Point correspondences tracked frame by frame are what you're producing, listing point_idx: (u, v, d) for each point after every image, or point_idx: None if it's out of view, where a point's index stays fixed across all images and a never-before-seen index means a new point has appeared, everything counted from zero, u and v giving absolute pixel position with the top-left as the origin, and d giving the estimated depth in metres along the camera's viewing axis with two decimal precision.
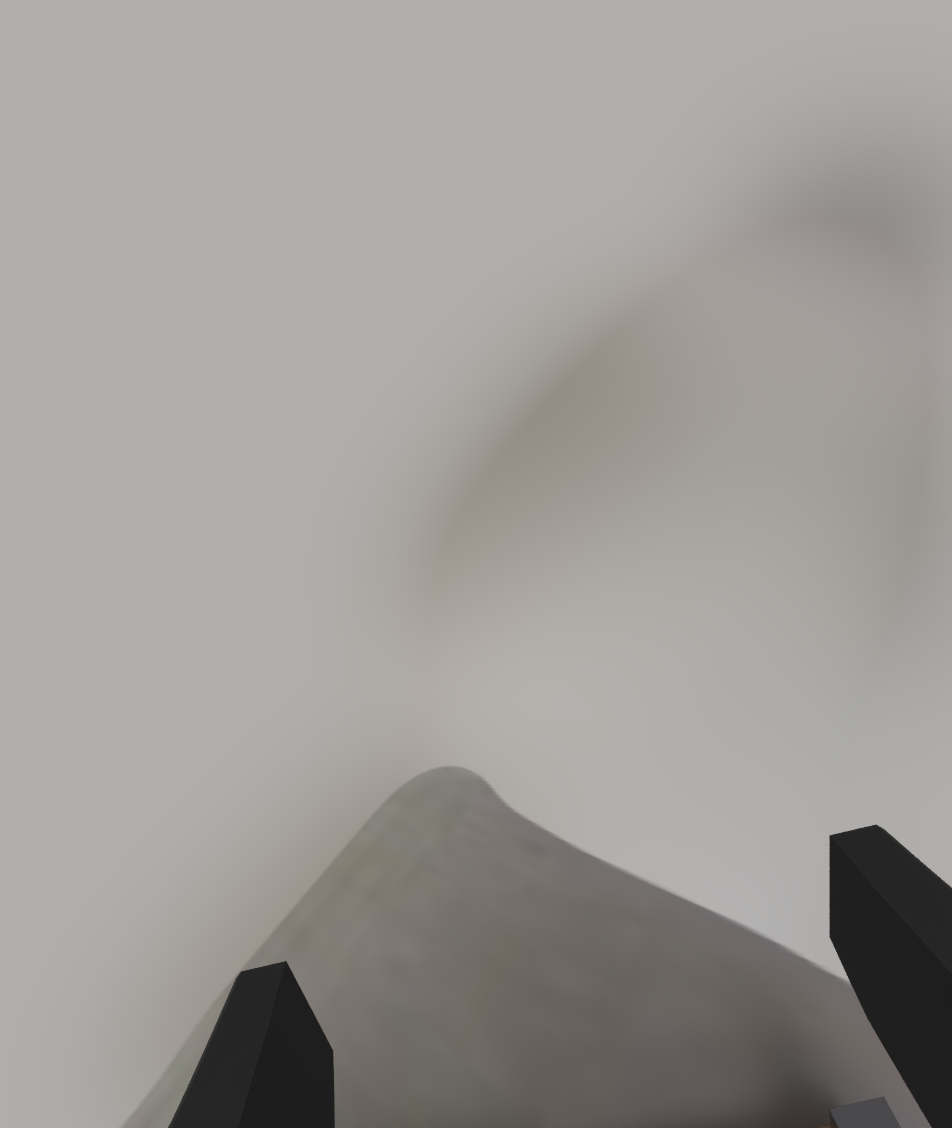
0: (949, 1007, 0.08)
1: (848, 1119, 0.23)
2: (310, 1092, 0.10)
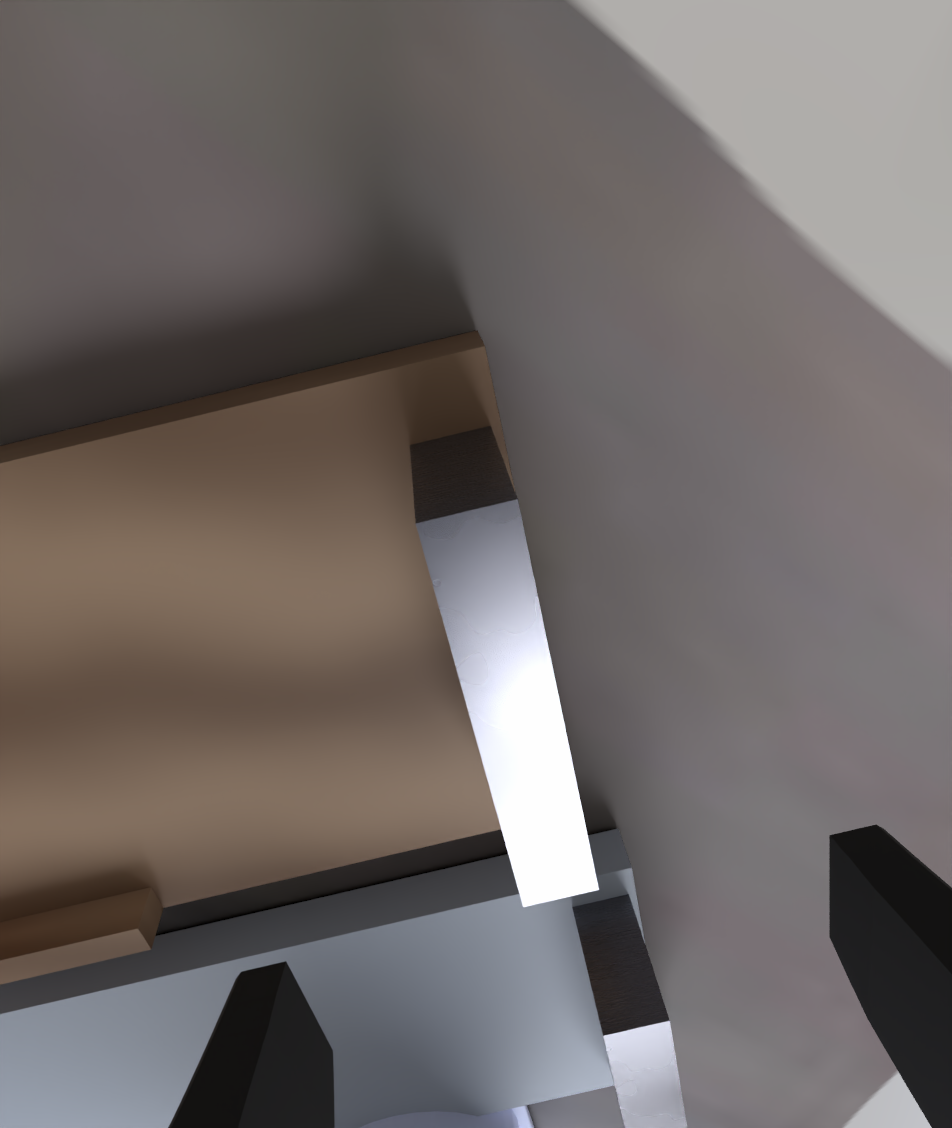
0: (949, 1007, 0.08)
1: (444, 539, 0.12)
2: (310, 1092, 0.10)
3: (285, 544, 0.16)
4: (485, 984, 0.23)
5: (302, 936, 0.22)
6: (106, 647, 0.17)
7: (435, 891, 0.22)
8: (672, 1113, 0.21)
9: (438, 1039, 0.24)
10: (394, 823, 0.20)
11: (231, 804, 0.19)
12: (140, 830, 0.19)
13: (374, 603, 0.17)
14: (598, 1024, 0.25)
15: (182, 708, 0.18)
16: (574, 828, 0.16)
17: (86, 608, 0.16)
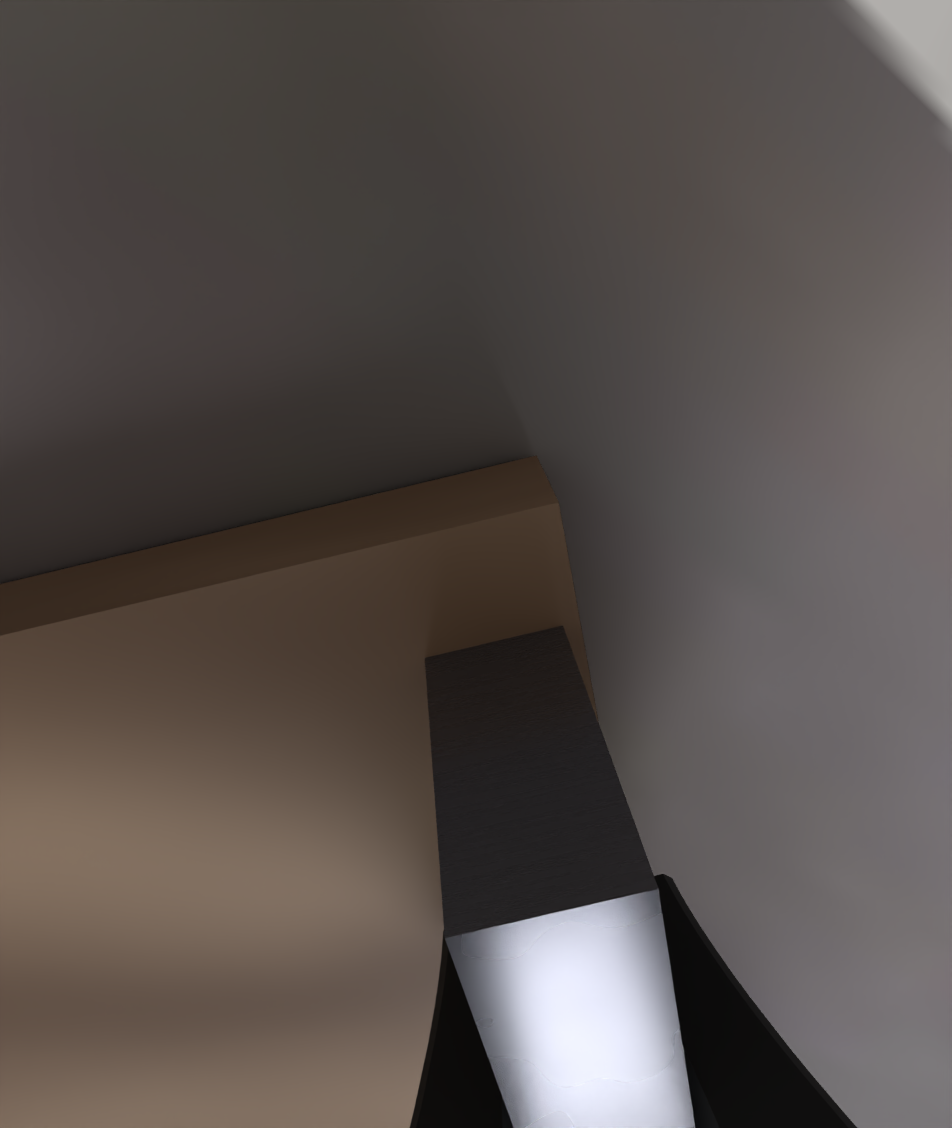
0: None
1: (503, 958, 0.06)
2: None
3: (218, 806, 0.10)
4: None
5: None
6: None
7: None
8: None
9: None
10: None
11: None
12: None
13: (365, 880, 0.11)
14: None
15: (67, 1025, 0.11)
16: None
17: None
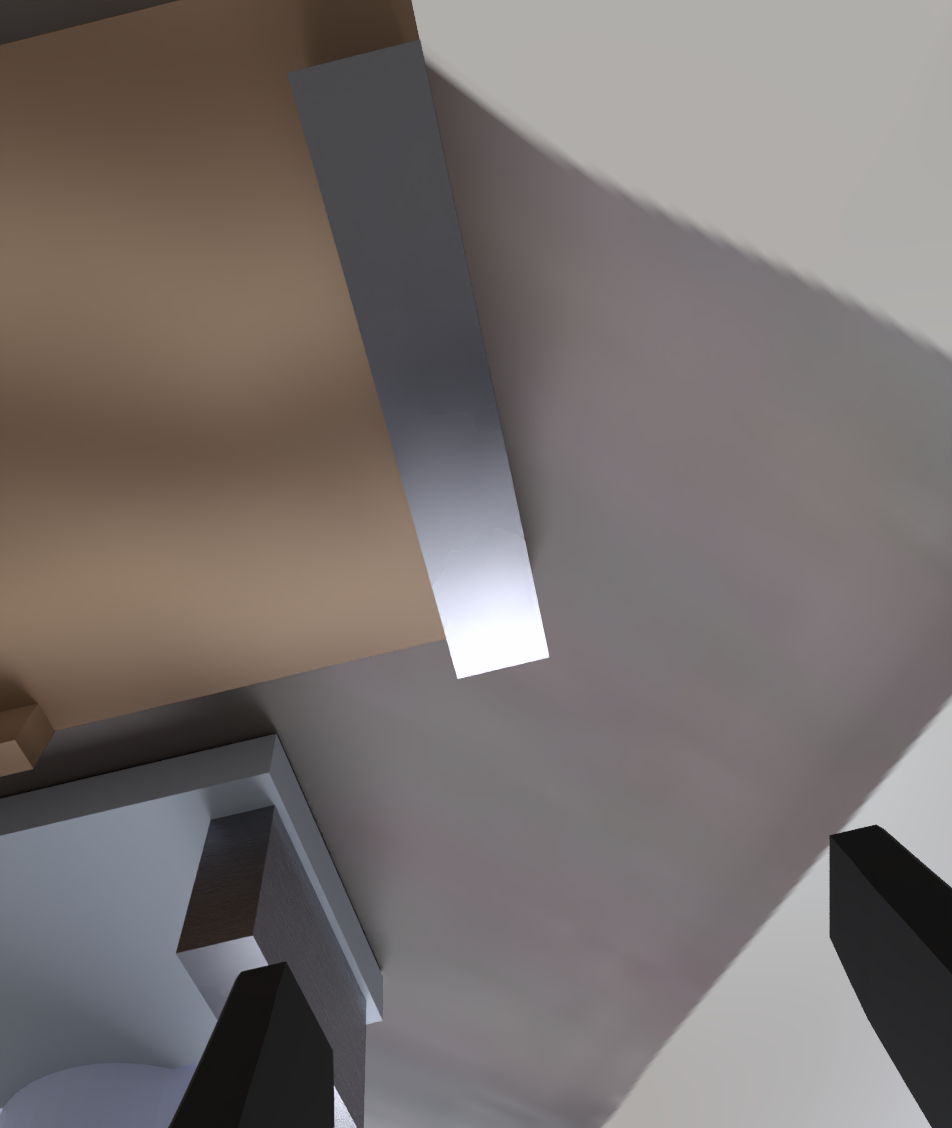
0: (949, 1007, 0.08)
1: (326, 101, 0.09)
2: (310, 1092, 0.10)
3: (166, 230, 0.13)
4: (133, 912, 0.20)
5: None
6: None
7: (58, 803, 0.19)
8: None
9: (96, 977, 0.21)
10: (320, 626, 0.17)
11: (125, 594, 0.16)
12: (19, 626, 0.16)
13: (280, 320, 0.14)
14: None
15: (57, 460, 0.15)
16: (515, 565, 0.13)
17: None
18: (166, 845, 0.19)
